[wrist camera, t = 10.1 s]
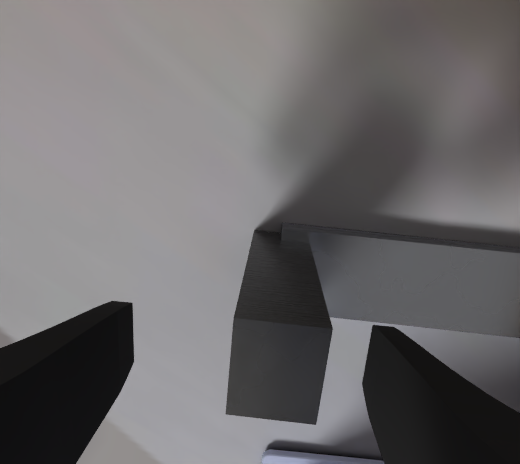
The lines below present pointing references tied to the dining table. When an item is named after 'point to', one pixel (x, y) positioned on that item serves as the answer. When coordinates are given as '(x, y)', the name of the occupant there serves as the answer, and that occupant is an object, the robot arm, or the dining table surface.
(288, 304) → the grey l-shaped block
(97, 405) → the robot arm
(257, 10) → the dining table surface
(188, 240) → the dining table surface
